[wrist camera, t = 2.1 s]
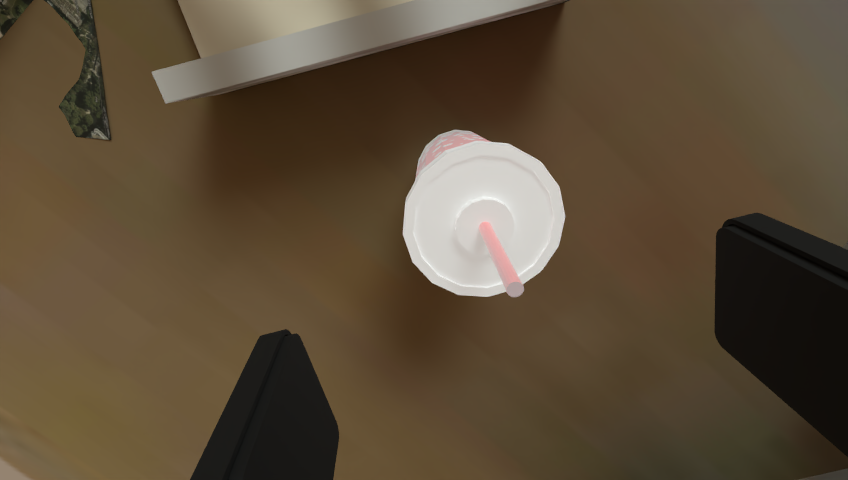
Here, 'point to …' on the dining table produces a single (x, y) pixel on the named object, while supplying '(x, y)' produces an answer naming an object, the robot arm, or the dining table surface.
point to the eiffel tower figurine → (85, 100)
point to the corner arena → (309, 36)
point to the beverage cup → (481, 215)
